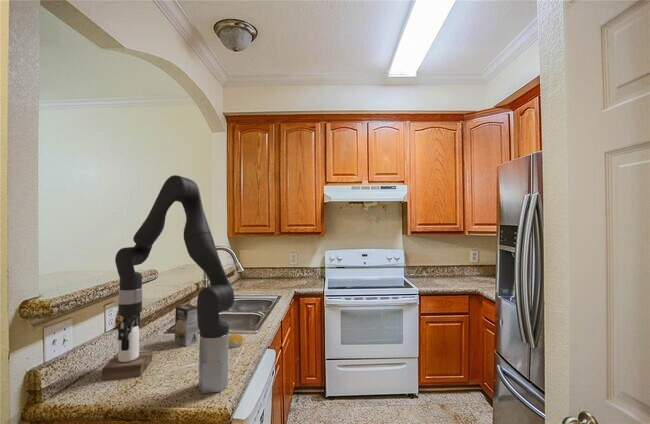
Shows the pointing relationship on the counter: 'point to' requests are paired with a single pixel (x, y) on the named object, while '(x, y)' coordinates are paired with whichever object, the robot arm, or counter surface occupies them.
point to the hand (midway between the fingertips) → (129, 346)
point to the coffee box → (186, 325)
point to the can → (130, 347)
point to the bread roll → (235, 340)
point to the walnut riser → (127, 367)
